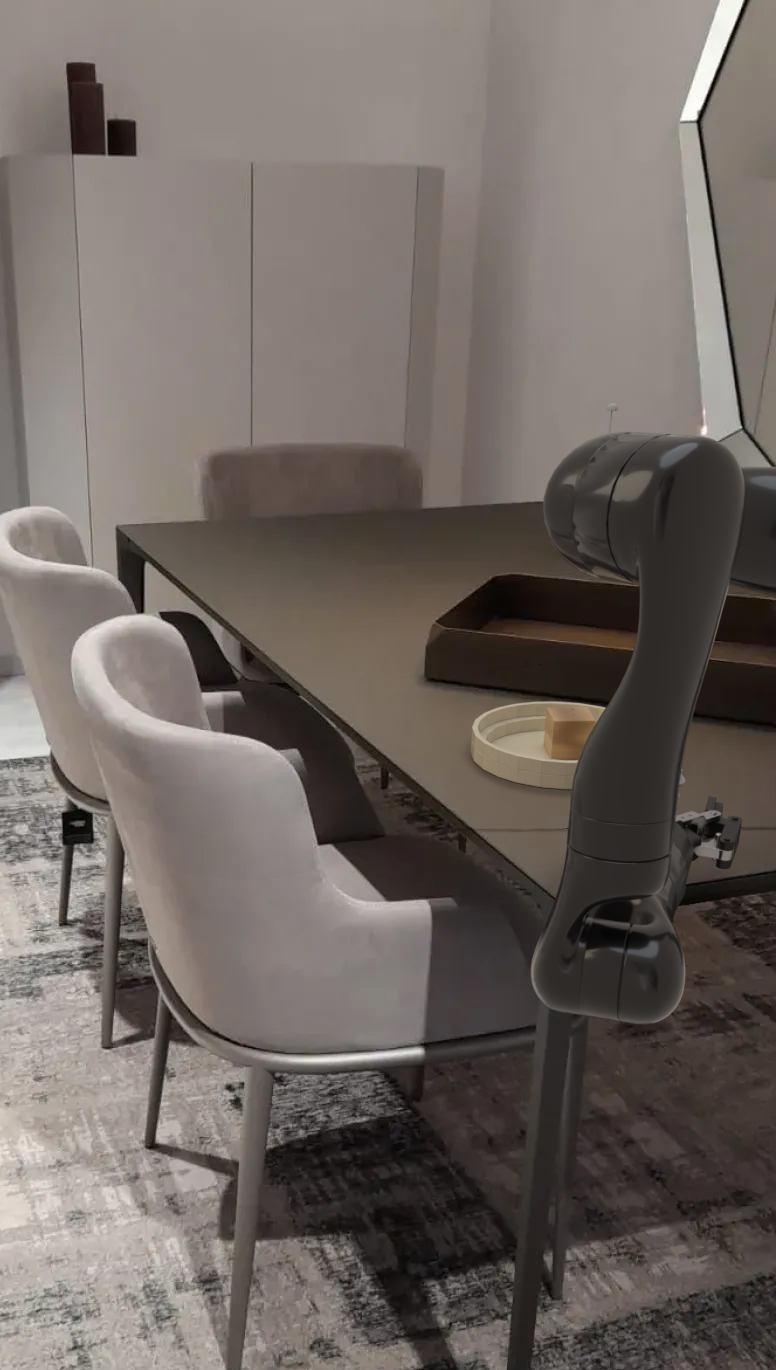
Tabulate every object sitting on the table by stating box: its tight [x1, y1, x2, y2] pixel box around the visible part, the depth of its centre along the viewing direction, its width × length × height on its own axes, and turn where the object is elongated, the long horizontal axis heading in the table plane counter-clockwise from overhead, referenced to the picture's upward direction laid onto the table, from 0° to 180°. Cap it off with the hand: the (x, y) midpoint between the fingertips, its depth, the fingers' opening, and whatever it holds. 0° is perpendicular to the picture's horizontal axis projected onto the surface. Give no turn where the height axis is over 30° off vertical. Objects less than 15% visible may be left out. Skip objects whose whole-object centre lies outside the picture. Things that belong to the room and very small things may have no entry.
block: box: [544, 707, 596, 760], centre depth 149 cm, size 4×4×4 cm
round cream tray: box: [470, 701, 606, 790], centre depth 149 cm, size 19×19×4 cm
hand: (662, 800), depth 124 cm, fingers open, 8 cm apart
